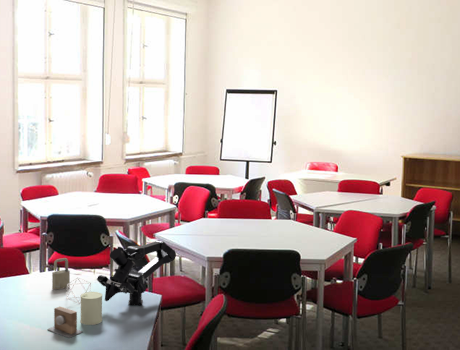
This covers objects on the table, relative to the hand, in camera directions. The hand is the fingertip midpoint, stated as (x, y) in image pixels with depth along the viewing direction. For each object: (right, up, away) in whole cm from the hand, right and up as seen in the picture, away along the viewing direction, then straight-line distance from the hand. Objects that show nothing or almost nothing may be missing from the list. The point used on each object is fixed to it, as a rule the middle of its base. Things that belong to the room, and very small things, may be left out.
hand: (105, 300), depth 257 cm
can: (-5, -7, -6) cm, 11 cm away
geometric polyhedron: (-17, -4, +20) cm, 26 cm away
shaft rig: (-13, -8, -18) cm, 24 cm away
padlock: (-30, -1, +36) cm, 47 cm away
